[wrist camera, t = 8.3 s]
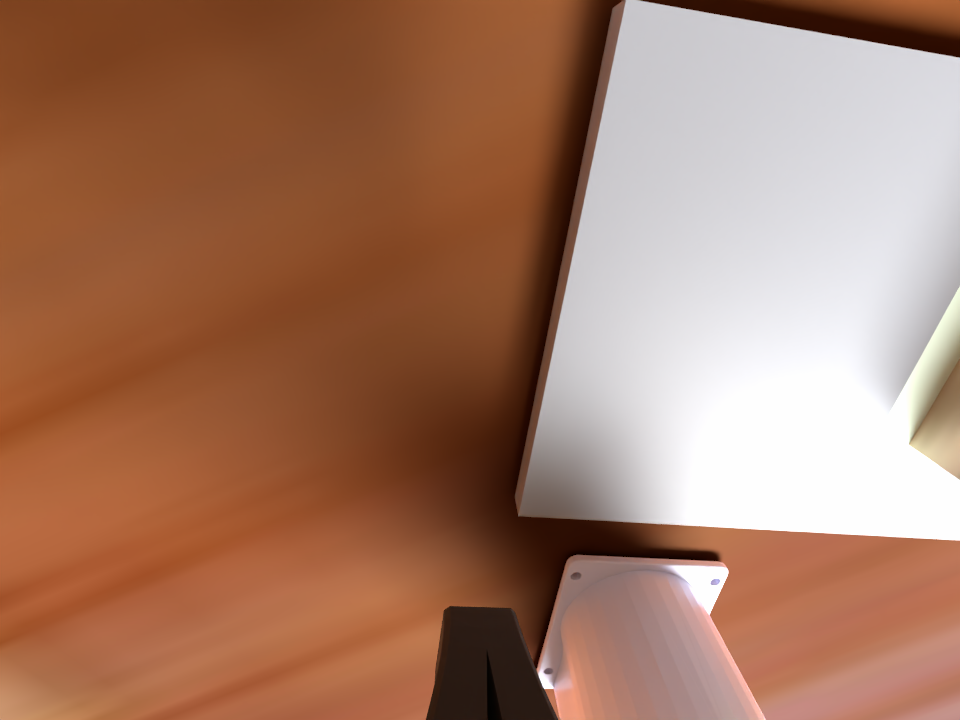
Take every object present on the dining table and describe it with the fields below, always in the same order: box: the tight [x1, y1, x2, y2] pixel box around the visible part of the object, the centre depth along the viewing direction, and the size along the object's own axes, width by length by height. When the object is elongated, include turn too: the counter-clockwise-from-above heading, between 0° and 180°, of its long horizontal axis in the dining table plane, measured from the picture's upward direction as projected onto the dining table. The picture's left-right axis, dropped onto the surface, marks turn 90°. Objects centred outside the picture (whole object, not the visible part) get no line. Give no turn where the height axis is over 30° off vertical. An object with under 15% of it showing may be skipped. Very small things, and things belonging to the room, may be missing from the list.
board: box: [515, 0, 960, 540], centre depth 19 cm, size 18×28×1 cm, turn 83°
